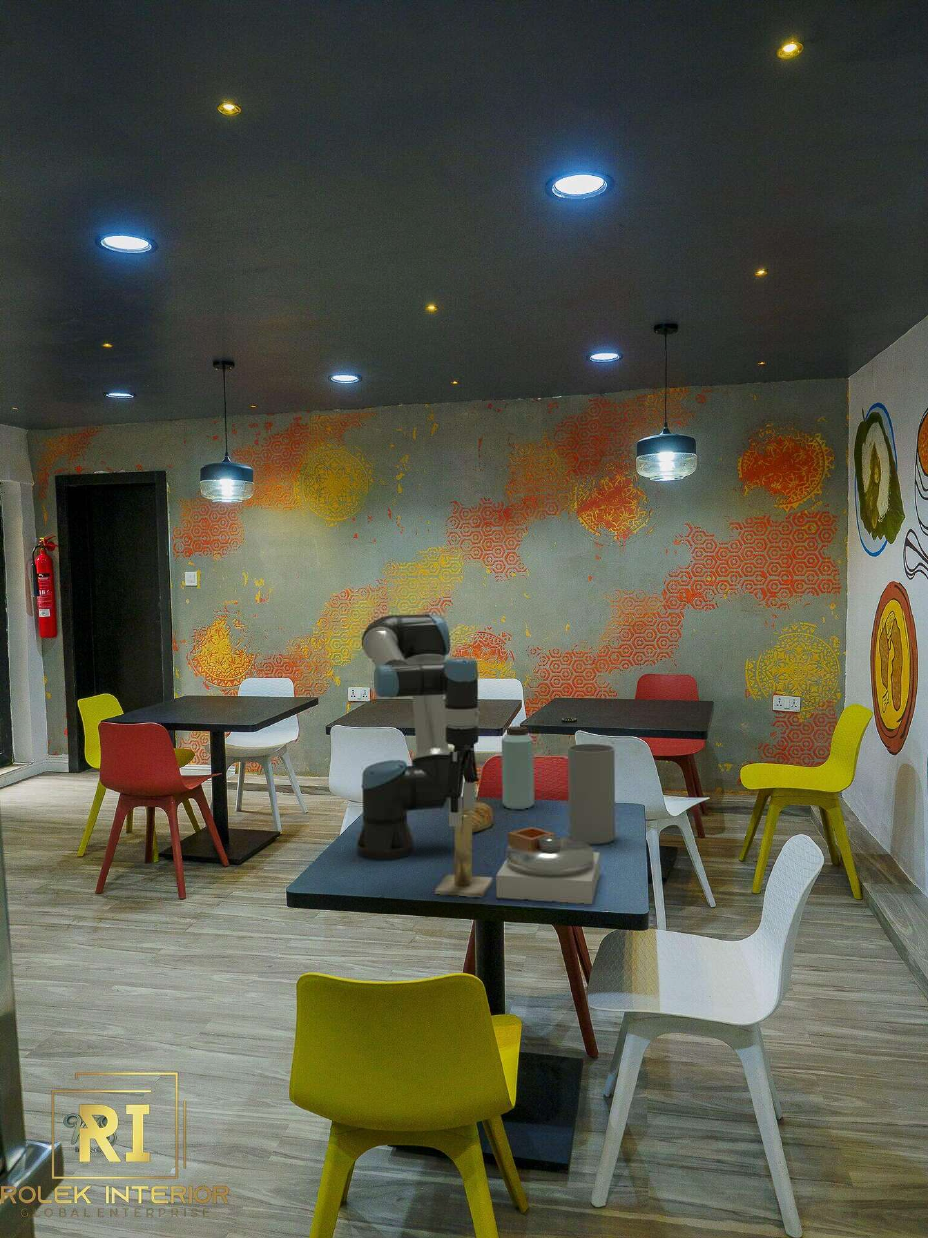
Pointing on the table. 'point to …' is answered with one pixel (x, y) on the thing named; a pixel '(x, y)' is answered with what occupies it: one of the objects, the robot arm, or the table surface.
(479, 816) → the croissant
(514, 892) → the beige square block
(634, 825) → the table surface
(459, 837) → the brass capsule
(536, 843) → the silver metal disc
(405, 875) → the table surface
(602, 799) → the cylinder vase
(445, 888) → the birch pad
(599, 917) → the table surface
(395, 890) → the table surface
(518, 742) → the water bottle
